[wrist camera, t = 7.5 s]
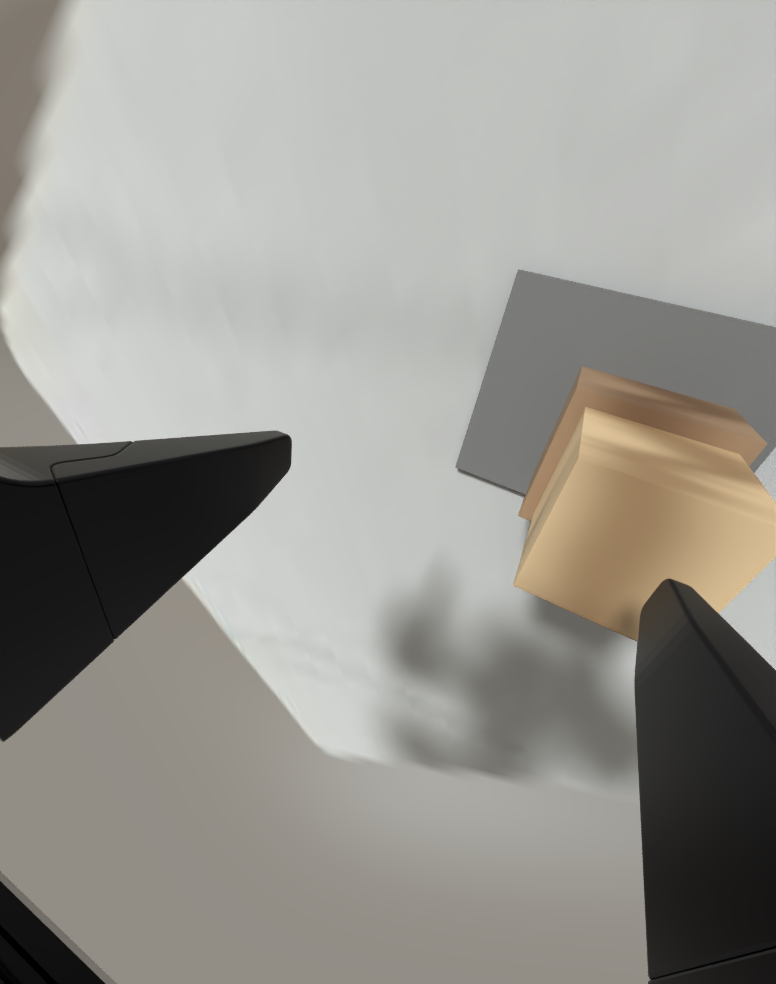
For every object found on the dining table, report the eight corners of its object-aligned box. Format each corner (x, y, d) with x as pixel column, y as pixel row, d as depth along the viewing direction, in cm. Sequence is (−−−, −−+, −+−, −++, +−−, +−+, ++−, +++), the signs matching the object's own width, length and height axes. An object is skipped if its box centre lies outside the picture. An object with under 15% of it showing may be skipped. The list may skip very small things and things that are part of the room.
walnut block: (734, 409, 16) (768, 443, 12) (652, 523, 19) (662, 574, 16) (582, 366, 17) (576, 387, 14) (531, 478, 21) (518, 515, 18)
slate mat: (852, 344, 14) (858, 346, 13) (683, 551, 19) (685, 556, 19) (519, 270, 17) (518, 269, 17) (457, 464, 23) (455, 467, 22)
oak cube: (739, 454, 13) (798, 533, 9) (656, 561, 16) (673, 658, 12) (585, 406, 14) (578, 457, 10) (533, 513, 17) (513, 585, 13)
